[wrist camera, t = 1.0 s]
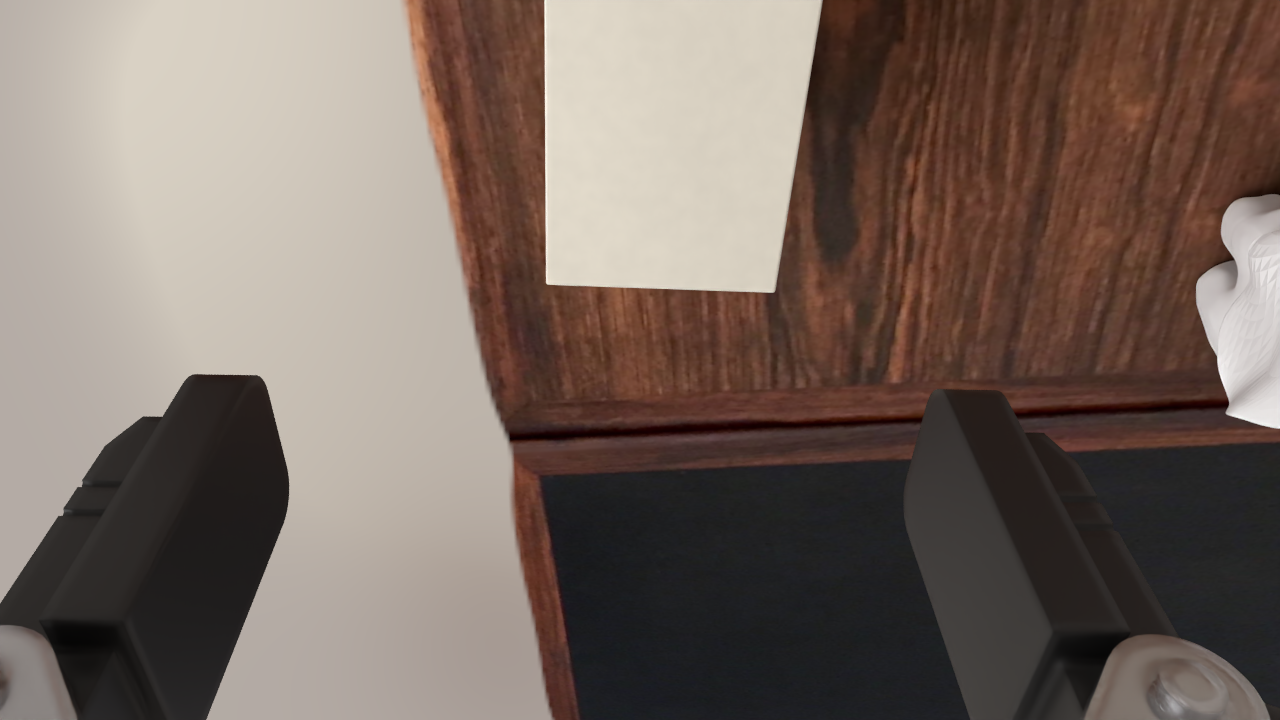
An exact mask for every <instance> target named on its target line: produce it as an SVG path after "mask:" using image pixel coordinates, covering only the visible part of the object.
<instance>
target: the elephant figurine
mask: <svg viewBox="0 0 1280 720" xmlns="http://www.w3.org/2000/svg"><path fill="white" fill-rule="evenodd" d="M1221 237H1222V240H1223V242H1224V244H1225V246H1226V247H1227V249H1228V250H1229V252H1230V253H1231V254H1232V256H1233V257H1234V259H1235V260H1233V261H1229V262H1225V263H1222V264H1219V265H1217V266H1214V267H1213V268H1211V269H1210V270H1208V271H1207V272H1206V273H1204V274H1203V275H1202V276H1201V277H1200V278H1199V279H1198V281H1197V285H1196V303H1197V307H1198V310H1199V313H1200V316H1201V319H1202V322H1203V325H1204V328H1205V331H1206V334H1207V337H1208V340H1209V343H1210V345H1211V347H1212V348H1213V350H1214V352H1215V353H1216V355H1217V356H1218V359H1217V362H1218V369H1219V373H1220V377H1221V380H1222V382H1223V385H1224V388H1225V390H1226V393H1227V396H1228V399H1229V407H1228V408H1227V410H1226V414H1227V415H1230V416H1233V417H1237V418H1240V419H1243V420H1246V421H1249V422H1253V423H1256V424H1259V425H1263V426H1267V427H1272V428H1280V195H1277V194H1268V195H1264V196H1259V197H1245V198H1240V199H1238V200H1236V201H1234V202H1233V203H1232V204H1231V205H1230V206H1229V207H1228V209H1227V210H1226V212H1225V214H1224V216H1223V220H1222V226H1221Z"/></svg>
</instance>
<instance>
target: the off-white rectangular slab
mask: <svg viewBox="0 0 1280 720" xmlns="http://www.w3.org/2000/svg"><path fill="white" fill-rule="evenodd" d="M544 1H545V175H546V283H547V284H548V285H571V286H599V287H627V288H655V289H684V290H712V291H740V292H769V293H773V292H774V291H775V288H776V282H777V276H778V270H779V264H780V258H781V252H782V246H783V240H784V233H785V227H786V221H787V215H788V209H789V203H790V197H791V191H792V185H793V179H794V173H795V166H796V160H797V154H798V148H799V142H800V136H801V130H802V124H803V118H804V112H805V105H806V99H807V93H808V87H809V81H810V75H811V69H812V63H813V57H814V51H815V45H816V38H817V32H818V26H819V20H820V14H821V8H822V2H823V0H544Z"/></svg>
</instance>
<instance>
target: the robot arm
mask: <svg viewBox="0 0 1280 720" xmlns="http://www.w3.org/2000/svg"><path fill="white" fill-rule="evenodd" d="M82 481H83V485H82V487H78V488H77V489H76V491H75V492H74V494H73V495H72V497H71V498H70V500H69V501H68V503H67V504H66V506H65V507H64V514H63V516H58V518H57V519H56V521H55V522H54V524H53V525H52V527H51V528H50V530H49V531H48V533H47V534H46V536H45V537H44V539H43V540H42V542H41V543H40V545H39V546H38V548H37V549H36V551H35V552H34V554H33V555H32V557H31V558H30V560H29V561H28V563H27V564H26V566H25V567H24V569H23V570H22V572H21V573H20V575H19V576H18V578H17V579H16V581H15V582H14V584H13V585H12V587H11V588H10V590H9V591H8V593H7V594H6V596H5V597H4V599H3V600H2V602H1V603H0V720H206V719H207V716H208V714H209V711H210V708H211V706H212V703H213V701H214V698H215V696H216V693H217V691H218V688H219V686H220V683H221V681H222V678H223V676H224V673H225V670H226V668H227V665H228V663H229V660H230V658H231V655H232V653H233V650H234V647H235V645H236V643H237V640H238V638H239V635H240V632H241V630H242V627H243V625H244V622H245V620H246V617H247V615H248V612H249V610H250V607H251V605H252V602H253V599H254V597H255V594H256V591H257V589H258V587H259V584H260V582H261V579H262V577H263V574H264V572H265V569H266V566H267V564H268V561H269V559H270V556H271V554H272V551H273V548H274V546H275V543H276V541H277V539H278V536H279V533H280V530H281V528H282V526H283V523H284V520H285V517H286V512H287V507H288V500H289V477H288V471H287V466H286V462H285V458H284V454H283V450H282V446H281V442H280V438H279V434H278V430H277V426H276V422H275V418H274V414H273V410H272V406H271V402H270V398H269V394H268V390H267V387H266V385H265V382H264V381H263V379H262V378H261V377H260V376H257V375H202V374H195V375H191V376H189V377H188V378H187V379H186V380H185V381H184V383H183V385H182V386H181V388H180V389H179V391H178V392H177V394H176V396H175V398H174V399H173V401H172V402H171V404H170V406H169V407H168V409H167V410H166V412H165V414H164V415H163V417H142V418H141V419H139V420H138V421H137V422H135V423H134V424H133V425H132V426H130V427H129V428H128V429H126V430H125V431H124V432H123V433H121V434H120V435H119V436H117V437H116V438H115V439H113V440H112V441H111V442H110V443H108V444H107V445H106V446H105V447H104V449H103V450H102V451H101V453H100V454H99V456H98V457H97V459H96V461H95V462H94V463H93V465H92V467H91V468H90V469H89V471H88V473H87V474H86V476H85V477H84V478H83V480H82ZM904 518H905V524H906V529H907V532H908V535H909V538H910V541H911V544H912V547H913V550H914V553H915V556H916V559H917V562H918V565H919V568H920V571H921V574H922V577H923V580H924V583H925V586H926V589H927V592H928V595H929V598H930V601H931V604H932V607H933V610H934V613H935V616H936V619H937V622H938V625H939V628H940V630H941V633H942V636H943V639H944V642H945V645H946V648H947V651H948V654H949V657H950V660H951V663H952V666H953V669H954V672H955V675H956V678H957V681H958V684H959V687H960V690H961V693H962V696H963V699H964V702H965V705H966V708H967V711H968V714H969V717H970V720H1280V708H1278V707H1275V706H1271V705H1268V704H1265V703H1264V702H1263V701H1262V699H1261V697H1260V695H1259V694H1258V692H1257V691H1256V690H1255V689H1254V687H1253V686H1252V685H1251V683H1250V682H1249V681H1248V680H1247V679H1246V678H1245V677H1244V676H1243V675H1242V674H1241V673H1240V672H1239V671H1238V670H1236V669H1235V668H1234V667H1233V666H1232V665H1230V664H1229V663H1228V662H1226V661H1225V660H1223V659H1222V658H1220V657H1219V656H1217V655H1216V654H1214V653H1213V652H1211V651H1209V650H1207V649H1205V648H1203V647H1201V646H1199V645H1196V644H1194V643H1192V642H1189V641H1186V640H1183V639H1180V637H1179V636H1178V634H1177V633H1176V631H1175V629H1174V628H1173V626H1172V624H1171V622H1170V621H1169V619H1168V617H1167V615H1166V614H1165V612H1164V610H1163V609H1162V607H1161V605H1160V603H1159V602H1158V600H1157V598H1156V597H1155V595H1154V593H1153V591H1152V590H1151V588H1150V586H1149V585H1148V583H1147V581H1146V579H1145V578H1144V576H1143V574H1142V573H1141V571H1140V569H1139V567H1138V566H1137V564H1136V562H1135V561H1134V559H1133V557H1132V555H1131V554H1130V552H1129V550H1128V548H1127V547H1126V545H1125V543H1124V542H1123V540H1122V538H1121V536H1120V535H1119V533H1118V531H1113V523H1112V521H1111V519H1110V518H1109V516H1108V514H1107V512H1106V511H1105V509H1104V507H1103V506H1102V504H1101V503H1097V495H1096V494H1095V492H1094V490H1093V488H1092V487H1091V485H1090V483H1089V481H1088V480H1087V478H1086V476H1085V475H1084V473H1083V471H1082V469H1081V468H1080V466H1079V464H1078V463H1077V462H1076V461H1075V460H1074V459H1073V458H1072V457H1071V456H1069V455H1068V454H1067V453H1066V452H1065V451H1064V450H1062V449H1061V448H1060V447H1059V446H1058V445H1057V444H1056V443H1054V442H1053V441H1052V440H1051V439H1050V438H1049V437H1047V436H1046V435H1045V434H1044V433H1025V432H1024V430H1023V429H1022V427H1021V425H1020V423H1019V421H1018V419H1017V417H1016V416H1015V414H1014V412H1013V410H1012V408H1011V406H1010V404H1009V402H1008V401H1007V399H1006V397H1005V396H1004V395H1003V394H1002V393H1001V392H1000V391H997V390H950V389H937V390H935V391H934V392H933V393H932V394H931V395H930V397H929V400H928V402H927V405H926V409H925V413H924V416H923V420H922V424H921V427H920V431H919V434H918V438H917V442H916V445H915V449H914V452H913V456H912V460H911V463H910V467H909V470H908V474H907V478H906V482H905V488H904Z"/></svg>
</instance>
